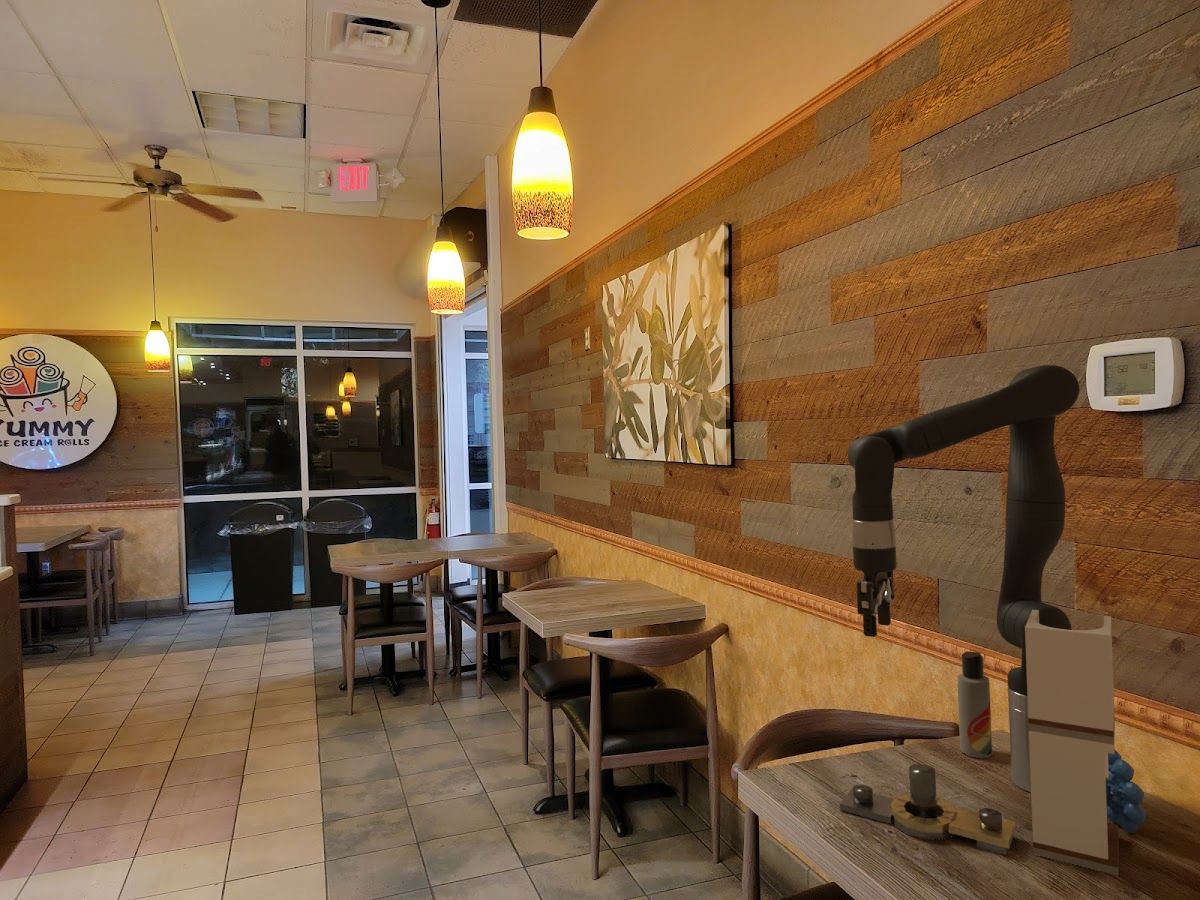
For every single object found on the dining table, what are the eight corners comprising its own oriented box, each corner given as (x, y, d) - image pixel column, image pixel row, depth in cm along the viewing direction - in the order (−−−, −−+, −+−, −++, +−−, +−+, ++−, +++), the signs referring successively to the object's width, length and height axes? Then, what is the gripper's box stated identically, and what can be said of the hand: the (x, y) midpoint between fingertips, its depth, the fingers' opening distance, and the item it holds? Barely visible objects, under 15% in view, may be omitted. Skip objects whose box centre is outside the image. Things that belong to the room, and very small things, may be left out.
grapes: (1068, 806, 127) (1066, 736, 126) (1109, 804, 126) (1107, 735, 126) (1113, 844, 115) (1111, 768, 115) (1158, 843, 115) (1156, 766, 114)
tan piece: (855, 790, 136) (854, 766, 135) (1017, 831, 120) (1016, 804, 120) (836, 815, 128) (835, 790, 127) (1007, 862, 112) (1006, 833, 112)
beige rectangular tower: (1118, 875, 107) (1110, 635, 106) (1033, 854, 113) (1024, 627, 112) (1118, 837, 117) (1111, 616, 116) (1040, 820, 123) (1032, 609, 122)
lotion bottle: (996, 759, 145) (992, 657, 144) (964, 758, 146) (960, 657, 145) (987, 746, 150) (983, 648, 150) (956, 746, 151) (952, 648, 151)
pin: (914, 814, 127) (912, 762, 126) (940, 820, 124) (937, 767, 124) (908, 825, 123) (906, 771, 123) (934, 831, 121) (932, 777, 121)
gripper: (883, 551, 130) (887, 643, 131) (905, 538, 141) (909, 623, 142) (840, 548, 135) (844, 637, 135) (865, 537, 146) (869, 619, 146)
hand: (877, 630), depth 139 cm, fingers open, 8 cm apart
